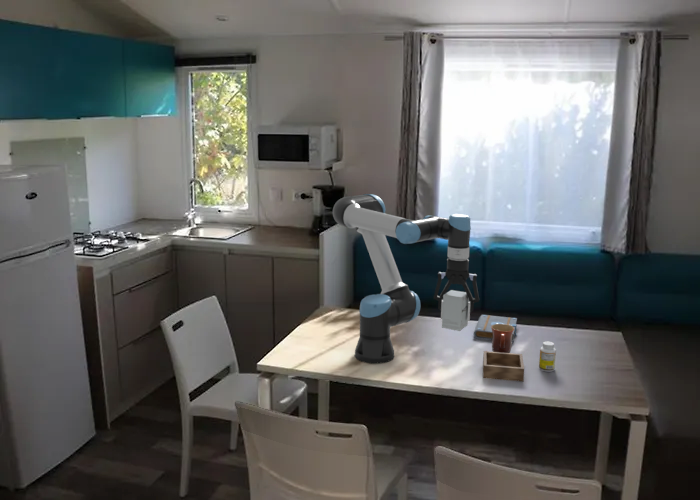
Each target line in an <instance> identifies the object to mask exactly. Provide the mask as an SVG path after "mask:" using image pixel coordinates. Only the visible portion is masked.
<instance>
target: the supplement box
mask: <svg viewBox="0 0 700 500" xmlns="http://www.w3.org/2000/svg"><path fill="white" fill-rule="evenodd" d="M442 300H443V314H442V319H441V328H442V329H447V330H452V331H457V332H461V331H462V330H464V329H465V328H466V327H468V326H469V325H468V324H469V323H468V322H469V321H467V319H468V302H470V300H469V298H468V296H467V294H466V292H465V291H460V290H454V289H450V290H449V291H447V292H446V294H444V295H443V299H442Z"/></svg>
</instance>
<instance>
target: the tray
mask: <svg viewBox="0 0 700 500" xmlns="http://www.w3.org/2000/svg"><path fill="white" fill-rule="evenodd" d="M482 357H483V358H482V379H490V380H498V381H499V380H501V381H502V380H503V381H511V382H524V381H525V380H524V379H525V364H524V363H525V362H524V357H523V354H522V353H513V352H510V353H501V352H493V351H486V350H484V351H483V356H482Z"/></svg>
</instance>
